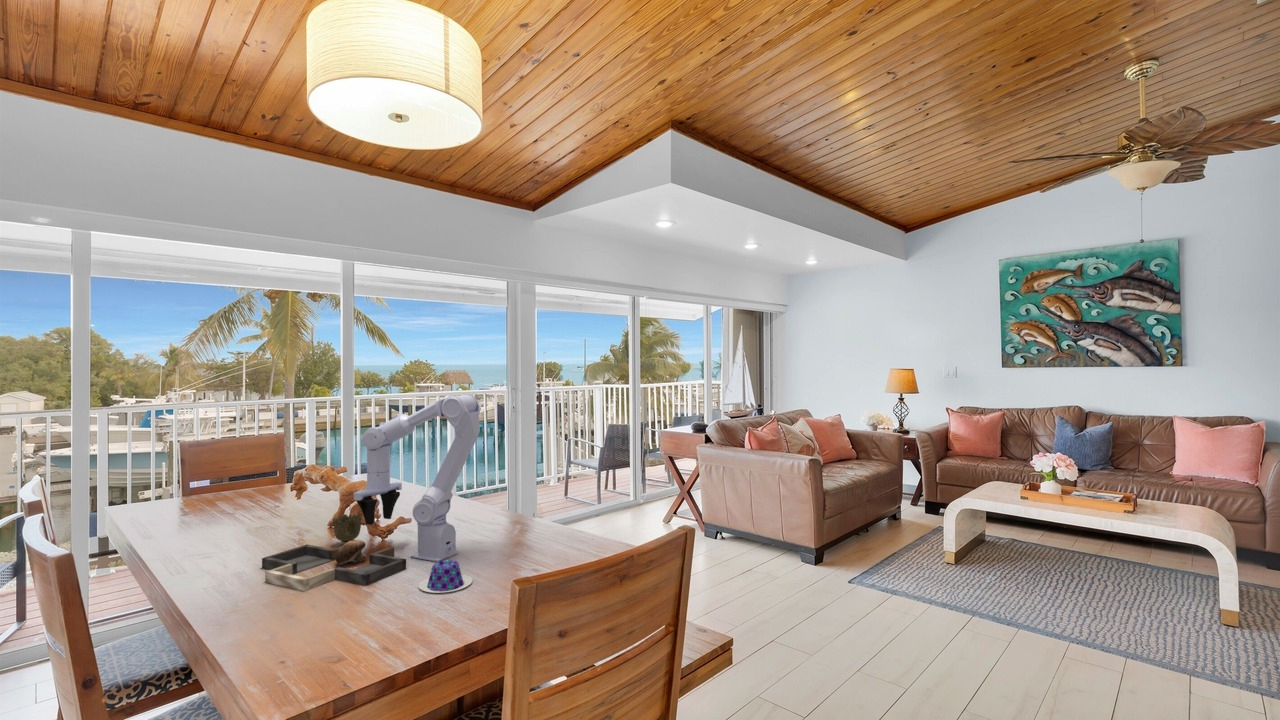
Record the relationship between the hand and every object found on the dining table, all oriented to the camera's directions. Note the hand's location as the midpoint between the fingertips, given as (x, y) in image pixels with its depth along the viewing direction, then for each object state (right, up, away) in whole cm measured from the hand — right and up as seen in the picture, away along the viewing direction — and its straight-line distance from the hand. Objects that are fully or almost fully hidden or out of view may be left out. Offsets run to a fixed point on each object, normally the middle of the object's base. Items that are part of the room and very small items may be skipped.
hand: (378, 521), depth 165 cm
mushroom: (-4, -9, -8) cm, 13 cm away
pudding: (+26, -9, -23) cm, 36 cm away
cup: (-11, -9, +6) cm, 16 cm away
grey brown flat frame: (-6, -8, -13) cm, 16 cm away
